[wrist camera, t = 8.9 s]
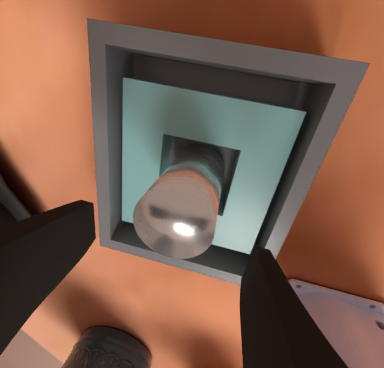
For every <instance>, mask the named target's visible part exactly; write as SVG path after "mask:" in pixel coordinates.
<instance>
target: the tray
mask: <svg viewBox="0 0 384 368" xmlns="http://www.w3.org/2000/svg"><path fill="white" fill-rule="evenodd" d="M87 26H88V44H89V61H90V79H91V96H92V114H93V131H94V149H95V166H96V183H97V201H98V218H99V236H100V246H104V247H107V248H111V249H114V250H118V251H121V252H125V253H128V254H132V255H135V256H139V257H143V258H146V259H150V260H153V261H157V262H160V263H164V264H167V265H171V266H174V267H178V268H181V269H185V270H188V271H192V272H196V273H199V274H203V275H206V276H210V277H213V278H217V279H220V280H224V281H227V282H231V283H234V284H238V285H241V278H242V276H243V274H244V271H245V269H246V266H247V264H248V261H249V259H250V256H251V254H252V251H253V249H254V246H257V247H261V248H265V249H269V250H270V251H271V253H272V254H273V256H274V258H275V259H276V257H277V255H278V253H279V251H280V249H281V247H282V245H283V243H284V241H285V239H286V236H287V234H288V232H289V230H290V228H291V226H292V224H293V222H294V220H295V218H296V216H297V214H298V212H299V209H300V207H301V205H302V203H303V201H304V199H305V197H306V195H307V193H308V191H309V189H310V187H311V185H312V183H313V180H314V178H315V176H316V174H317V172H318V170H319V168H320V166H321V164H322V162H323V160H324V158H325V156H326V154H327V151H328V149H329V147H330V145H331V143H332V141H333V139H334V137H335V135H336V133H337V131H338V129H339V127H340V124H341V122H342V120H343V118H344V116H345V114H346V112H347V110H348V108H349V106H350V104H351V102H352V100H353V98H354V95H355V93H356V91H357V89H358V87H359V85H360V83H361V81H362V79H363V77H364V75H365V73H366V71H367V68H368V66H369V64H370V63H365V62H358V61H352V60H346V59H339V58H333V57H327V56H320V55H314V54H308V53H302V52H295V51H289V50H283V49H276V48H270V47H264V46H257V45H251V44H245V43H239V42H232V41H226V40H220V39H213V38H207V37H201V36H195V35H188V34H182V33H176V32H169V31H163V30H157V29H150V28H144V27H138V26H132V25H125V24H119V23H113V22H106V21H100V20H94V19H88V18H87ZM192 144H206V145H209V146H211V147H213V148H215V149H216V150H217V151H218V152H219V153H220V155H221V156H222V158H223V160H224V164H225V171H224V177H223V184H222V190H221V196H220V203H219V209H218V215H217V221H216V228H215V234H214V238H213V241H212V243H211V245H210V246H209V248H208V249H207V250H206V251H204V252H203V253H202V254H200V255H198V256H196V257H192V258H187V259H176V258H170V257H166V256H163V255H161V254H159V253H157V252H155V251H153V250H152V249H151V248H149V247H148V246H147V245H146V244H145V243H144V242H143V241H142V240H141V238H140V237H139V236H138V234H137V232H136V230H135V227H134V223H133V211H134V208H135V206H136V204H137V202H138V201H139V200H140V198H141V197H142V196H143V195H144V194H145V193H146V192H147V190H148V189H149V188H150V187H151V186H152V185H153V184H154V182H155V181H156V180H157V179H158V178H159V177H160V175H161V174H162V173H163V172H164V171H165V170H166V169H167V167H168V166H169V165H170V164H171V163H172V162H173V161H174V159H175V158H176V157H177V156H178V155H179V154H180V153H181V151H182V150H183V149H185V148H186V147H188V146H190V145H192Z"/></svg>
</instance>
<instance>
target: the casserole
mask: <svg viewBox="0 0 384 368" xmlns="http://www.w3.org/2000/svg"><path fill="white" fill-rule="evenodd" d="M29 217H32V215H31V213H30V212H29V211H28V210H27V209H26V207H25V206H24V205H23V204H22V203H21V201H20V200H19V199H18V198H17V197H16V195H15V194H14V193H13V192H12V191H11V189H10V188H9V187H8V186H7V184H6V182H5V181H4V179H3V177H2V176H1V174H0V227H1V226H4V225H7V224H11V223H14V222H17V221H20V220H23V219H26V218H29Z"/></svg>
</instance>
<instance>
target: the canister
mask: <svg viewBox="0 0 384 368" xmlns="http://www.w3.org/2000/svg"><path fill="white" fill-rule="evenodd" d="M151 363H152V358H151V355H150V353H149V351H148V350H147V348H146V347H145V346H144V345H143V344H142V343H141V342H139V341H138V340H137V339H135V338H134V337H132V336H131V335H129V334H127V333H125V332H122V331H120V330H117V329H114V328H110V327H102V326H98V327H92V328H89V329H87V330H86V331H85V332H84V333H83V335H82V336H81V337H80V338H79V339H78V340H77V342H76V344H75V345H74V346H73V349H72V352H71V353H70V355H69V357H68V358H67V360H66V361H65V363H64V365H63V366H62V368H151Z"/></svg>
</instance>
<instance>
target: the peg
mask: <svg viewBox="0 0 384 368" xmlns="http://www.w3.org/2000/svg"><path fill="white" fill-rule="evenodd" d="M224 171H225V164H224V160H223V158H222V156H221V155H220V153H219V152H218V151H217V150H216V149H215V148H213V147H211V146H209V145H206V144H192V145H190V146H188V147H186V148H185V149H183V150H182V151H181V153H180V154H179V155H178V156H177V157H176V158H175V159H174V161H173V162H172V163H171V164H170V165H169V166H168V167H167V169H166V170H165V171H164V172H163V173H162V174H161V175H160V177H159V178H158V179H157V180H156V181H155V182H154V184H153V185H152V186H151V187H150V188H149V189H148V190H147V192H146V193H145V194H144V195H143V196H142V197H141V198H140V200H139V201H138V202H137V204H136V206H135V208H134V211H133V223H134V227H135V230H136V232H137V234H138V236H139V237H140V238H141V240H142V241H143V242H144V243H145V244H146V245H147V246H148V247H149V248H151V249H152V250H153V251H155V252H157V253H159V254H161V255H163V256H166V257H170V258H176V259H187V258H192V257H196V256H198V255H200V254H202V253H203V252H204V251H206V250H207V249H208V248H209V246H210V245H211V243H212V241H213V238H214V234H215V228H216V221H217V215H218V209H219V203H220V196H221V190H222V184H223V177H224Z"/></svg>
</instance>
